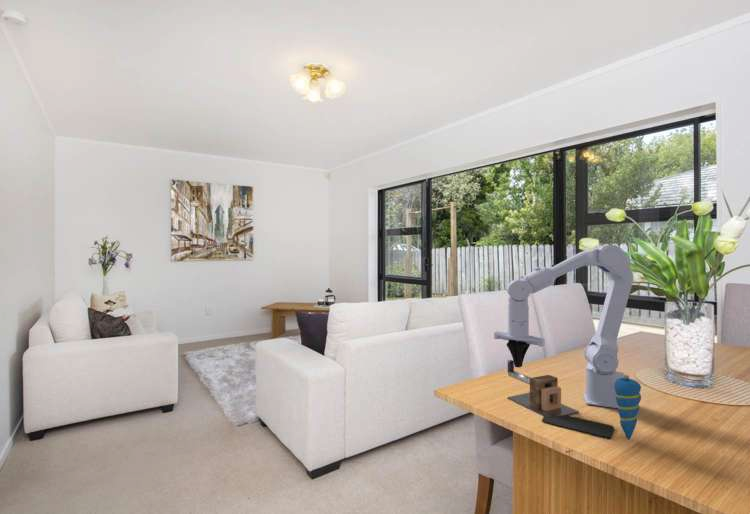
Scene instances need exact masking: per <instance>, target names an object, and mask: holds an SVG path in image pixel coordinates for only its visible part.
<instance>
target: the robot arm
mask: <svg viewBox="0 0 750 514" xmlns="http://www.w3.org/2000/svg"><path fill="white" fill-rule="evenodd" d="M581 267H597V268H599V269H600V270H602V271H603V273H604V274H605V275H606V276H607V278H608V279H609V280H610V281H609V284H608V288H607V292H606V296H605V299H604V302H603V306H602V310H601V314H600V317H599V320H598V325H597V329H596V333H595V334H594V335H593V336H592V337H591V340H590V342H589V344H588V345H587V346H586V347H585V348H584V353H583V355H584V357H585V359H586V361H588V362H587V364H586V366H585V392H583V393H582V396H583V399H584V401H585V404H586V405H589V406H598V407H606V408H614V409H618V408H619V406H618V404H617V402H616V396H617V394H616V392H615V389H614V385H615V382H616V380H617V379H619V378H624V375H625V373H624V372H622V371H617V369H618V367H619V358H618V352H619V346H618V341H617V340H618V337H619V332H620V329H621V326H622V323H623V318H624V314H625V311H626V308H627V304H628V301H629V300H628V299H629V296H630V295H631V289H632V287H633V283H634V277H635V276H634V274H633V271H632V269H631V265H630V262H629V255H628V254H627V253H626V252H625V251H624V250H623V248H621V247H620V246H618V245H615V244H607V245H605V244H599V245H595V246H594V247H593V248H587V249H585V250H582V251H580V252H578V253H576V254H574V255H572V256H571V257H569V258H567V259H565V260H563V261H561V262H559V263H557V264H555V265H554V266H552V267H550V268H549V267H546V266H542V267H540V266H537V267H534V271H531V272H529V273H527V274H525V275H523V274H522V275H520V276H519V279H514V280H511V281H510V282H509V284H507V288H506V293H507V295H508V299H507V301H508V305H507V332H504V331H496V332H493V333H494V335H493V338H494V340H498V339H499V340H503V341H507V343H506V347H507V349H508V350H509V352H510V354H511V357H512V360H513V361H514V368H521V367H523V363H524V359H525V356H526V354H527V351H528V350H529V348H530V346H531V345H532V346H533V345H534V346H538V347H543V346H545V338H542V337H537V336H534V335H530V332H529V330H530V329H529V328H530V326H529V325H530V324H529V323H530V322H529V316H530V315H529V314H530V313H529V312H530V311H529V310H530V309H529V297H530V295H531V294H536V293H538V292H540V291H542V290H544V289H546V288H549V287H550V286H552V285H554V284H555V281H556V279H557V278H559V277H561V276H563V275H566V274H567V273H570V272H572V271H575V270H577V269H579V268H581Z"/></svg>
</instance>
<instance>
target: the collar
mask: <svg viewBox="0 0 750 514" xmlns="http://www.w3.org/2000/svg"><path fill="white" fill-rule="evenodd" d="M550 394H553V402H550V403H549V395H550ZM561 404H562V388H561V387H560V386H553V387H548V388H543V389H541V409H543V410H545V411H549V410H553V409H558V408H561Z"/></svg>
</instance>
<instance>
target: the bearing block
mask: <svg viewBox="0 0 750 514" xmlns="http://www.w3.org/2000/svg"><path fill="white" fill-rule="evenodd" d="M558 384H559V383H558V377H556V376H553V375H550V374H545V375H540V376H534V377H531V378H530V385H529V393H530V405H531V406H533V407H535V408H537V409H541V389H543V388H548V387H553V386H558ZM558 387H559V386H558ZM550 402H553V394H550V395H549V403H550Z"/></svg>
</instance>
